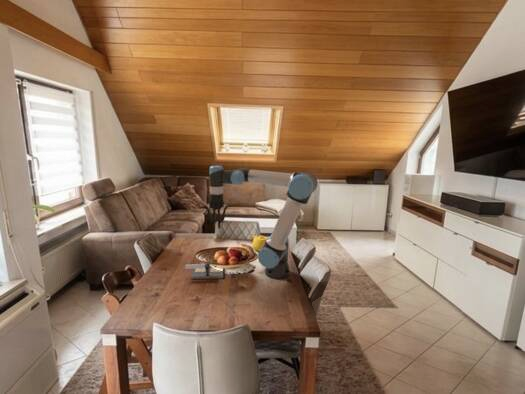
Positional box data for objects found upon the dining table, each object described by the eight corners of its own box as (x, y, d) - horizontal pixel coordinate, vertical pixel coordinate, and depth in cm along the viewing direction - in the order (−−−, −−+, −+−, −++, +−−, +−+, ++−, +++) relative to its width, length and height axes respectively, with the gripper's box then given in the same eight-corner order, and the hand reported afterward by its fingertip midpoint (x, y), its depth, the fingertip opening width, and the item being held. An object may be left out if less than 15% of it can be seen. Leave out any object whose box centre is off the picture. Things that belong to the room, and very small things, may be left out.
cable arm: (185, 267, 173) (185, 264, 173) (209, 266, 176) (209, 262, 176) (185, 269, 171) (185, 266, 170) (209, 268, 173) (209, 264, 173)
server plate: (224, 268, 188) (224, 259, 187) (223, 278, 174) (222, 269, 173) (194, 268, 186) (194, 260, 185) (190, 278, 173) (190, 269, 172)
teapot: (275, 252, 216) (276, 237, 214) (263, 256, 209) (264, 241, 207) (259, 245, 229) (259, 231, 227) (247, 248, 222) (247, 234, 220)
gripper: (228, 192, 177) (228, 231, 181) (205, 192, 176) (206, 231, 180) (227, 194, 169) (227, 235, 174) (204, 194, 168) (204, 235, 173)
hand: (216, 233), depth 177 cm, fingers closed
